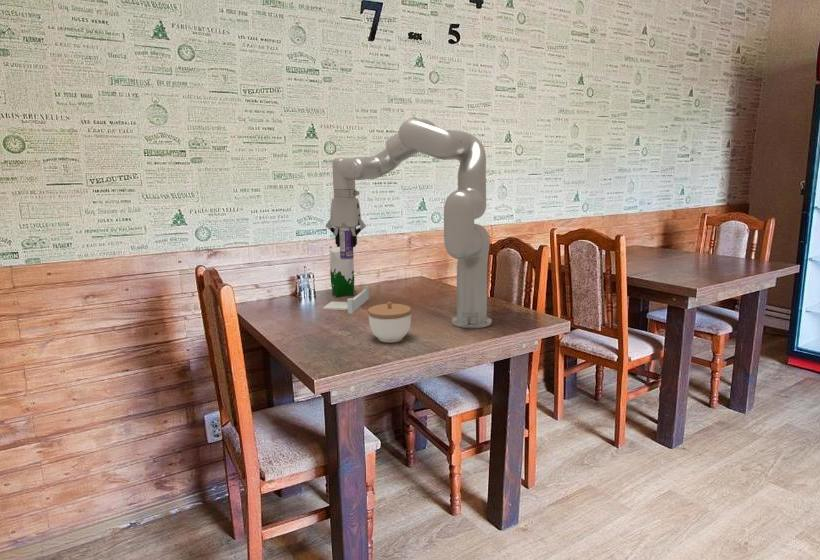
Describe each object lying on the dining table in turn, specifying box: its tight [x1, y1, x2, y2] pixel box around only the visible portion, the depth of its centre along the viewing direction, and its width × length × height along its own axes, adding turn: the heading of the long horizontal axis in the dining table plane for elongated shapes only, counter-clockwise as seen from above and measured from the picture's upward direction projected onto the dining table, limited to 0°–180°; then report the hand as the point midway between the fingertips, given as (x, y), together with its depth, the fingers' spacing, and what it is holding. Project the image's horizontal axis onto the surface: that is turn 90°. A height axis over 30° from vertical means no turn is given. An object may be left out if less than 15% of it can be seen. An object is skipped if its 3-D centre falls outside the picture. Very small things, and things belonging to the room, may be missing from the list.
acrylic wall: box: [346, 285, 370, 315], centre depth 200 cm, size 22×2×5 cm, turn 168°
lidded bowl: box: [367, 301, 412, 344], centre depth 161 cm, size 13×13×11 cm
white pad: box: [322, 301, 348, 311], centre depth 200 cm, size 9×9×1 cm
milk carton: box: [329, 247, 355, 298], centre depth 217 cm, size 9×9×20 cm
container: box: [339, 223, 355, 260], centre depth 194 cm, size 5×5×15 cm
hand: (346, 246), depth 195 cm, fingers closed on container, 4 cm apart
